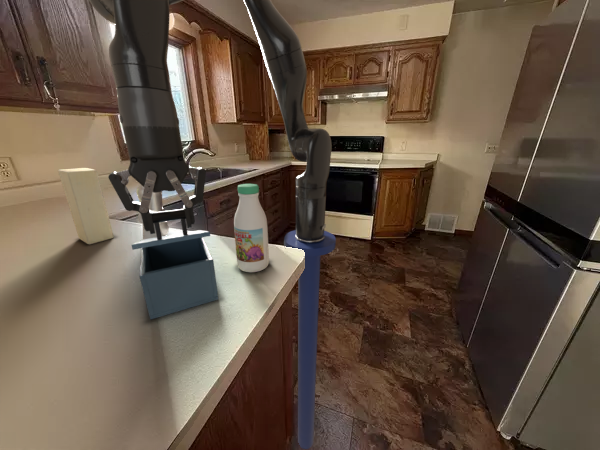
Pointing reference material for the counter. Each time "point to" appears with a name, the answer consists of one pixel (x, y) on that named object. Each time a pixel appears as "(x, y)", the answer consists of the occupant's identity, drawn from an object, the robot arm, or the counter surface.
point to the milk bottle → (250, 230)
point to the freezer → (177, 276)
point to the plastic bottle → (154, 206)
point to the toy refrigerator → (86, 204)
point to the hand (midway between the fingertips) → (171, 229)
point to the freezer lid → (160, 239)
